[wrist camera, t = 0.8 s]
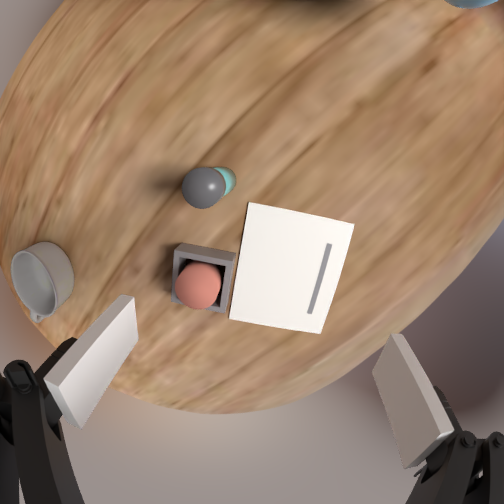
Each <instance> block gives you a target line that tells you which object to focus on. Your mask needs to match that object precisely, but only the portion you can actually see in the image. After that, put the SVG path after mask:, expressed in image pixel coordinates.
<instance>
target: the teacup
mask: <svg viewBox="0 0 504 504" xmlns="http://www.w3.org/2000/svg"><path fill="white" fill-rule="evenodd" d="M11 277H12V282H13V285H14V288H15V290H16V292H17V294H18V296H19V298H20V299H21V301H22V302H23V303H24V304H25V306H26V307H27V308H28V309H29V310H30V318H31V319H32V321H34V322H35V323H39V322H41V321H42V320H43V319H44V317H49V316H51V315H53V314H54V312H55V311H56V310H57V309H58V308H59V307H60V306H61V305H62V304H63V303H64V302H65V301H66V300H67V299H68V297H69V296H70V295H71V293H72V290H73V287H74V272H73V268H72V265H71V262H70V260H69V258H68V257H67V255H66V254H65V253H64V251H63V250H62V249H61V248H60V247H58V246H57V245H55V244H53V243H50V242H40V243H37V244H34V245H32V246H30V247H28V248H26V249H24V250H21V251H19V252H17V253H16V254H15V255H14V257H13V259H12V262H11Z"/></svg>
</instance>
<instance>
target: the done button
mask: <svg viewBox="0 0 504 504" xmlns="http://www.w3.org/2000/svg"><path fill="white" fill-rule="evenodd" d="M221 285H222V274H221V272H220V270H219V268H218V267H217V266H216V265H215V264H213V263H208V262H203V261H198V260H194V261H192V262H190V263H189V264H188V265H187V266H186V267H185V268H184V270H183V271H182V272H181V274H180V275H179V276H178V278H177V279H176V282H175V292H176V295H177V297H178V298H179V300H180V301H181V302H182V303H183V304H185V305H186V306H188V307H190V308H193V309H205V308H208V307H210V306H211V305H212V304H213V303H214V302H215V300H216V298H217V295H218V293H219V290H220V288H221Z"/></svg>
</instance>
